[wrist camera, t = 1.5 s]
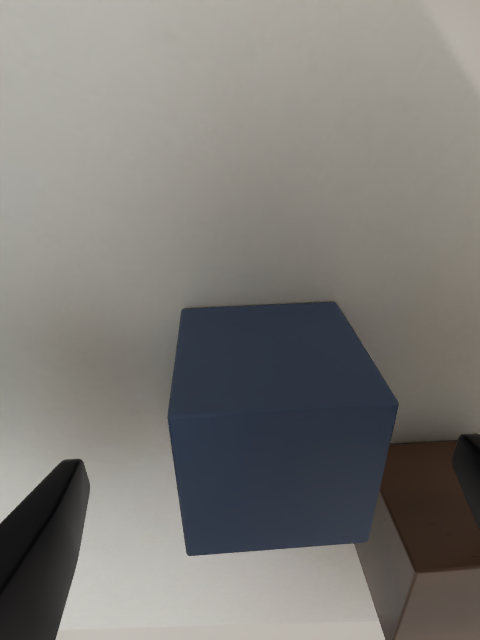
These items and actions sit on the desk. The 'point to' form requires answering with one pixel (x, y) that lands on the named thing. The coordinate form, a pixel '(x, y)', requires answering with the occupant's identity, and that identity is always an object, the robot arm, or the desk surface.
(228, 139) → the desk surface
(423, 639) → the walnut block
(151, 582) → the desk surface
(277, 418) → the blue block
